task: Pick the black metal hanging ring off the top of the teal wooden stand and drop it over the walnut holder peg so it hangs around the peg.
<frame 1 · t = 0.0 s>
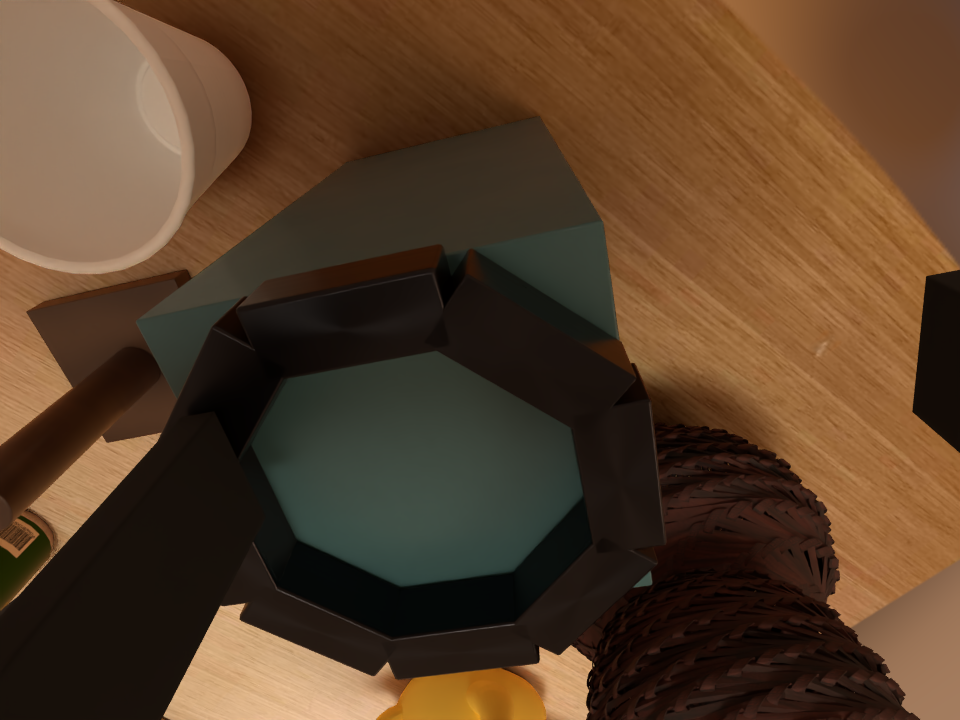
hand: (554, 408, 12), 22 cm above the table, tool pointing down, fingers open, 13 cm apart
ring: (420, 469, 14), point 20 cm above the table, touching gripper, stand
beer can: (21, 529, 43), on the table
vase: (648, 474, 39), on the table
cup: (193, 103, 30), on the table
teapot: (463, 687, 50), on the table
holder: (151, 355, 36), on the table
stand: (464, 236, 32), on the table
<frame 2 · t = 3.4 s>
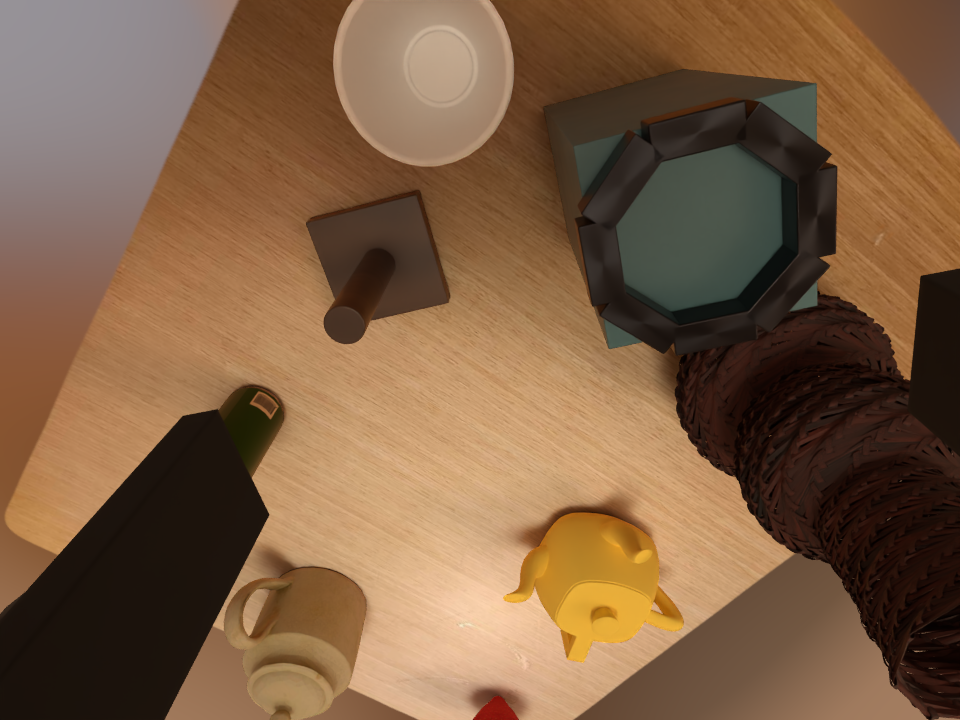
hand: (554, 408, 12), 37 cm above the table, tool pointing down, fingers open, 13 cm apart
ring: (696, 230, 27), point 20 cm above the table, touching stand
strawberry: (498, 696, 75), on the table
beer can: (258, 407, 56), on the table
lidded mug: (304, 592, 67), on the table
vase: (745, 346, 52), on the table
cup: (441, 67, 43), on the table
teapot: (586, 540, 63), on the table
holder: (382, 258, 49), on the table
stand: (622, 159, 45), on the table
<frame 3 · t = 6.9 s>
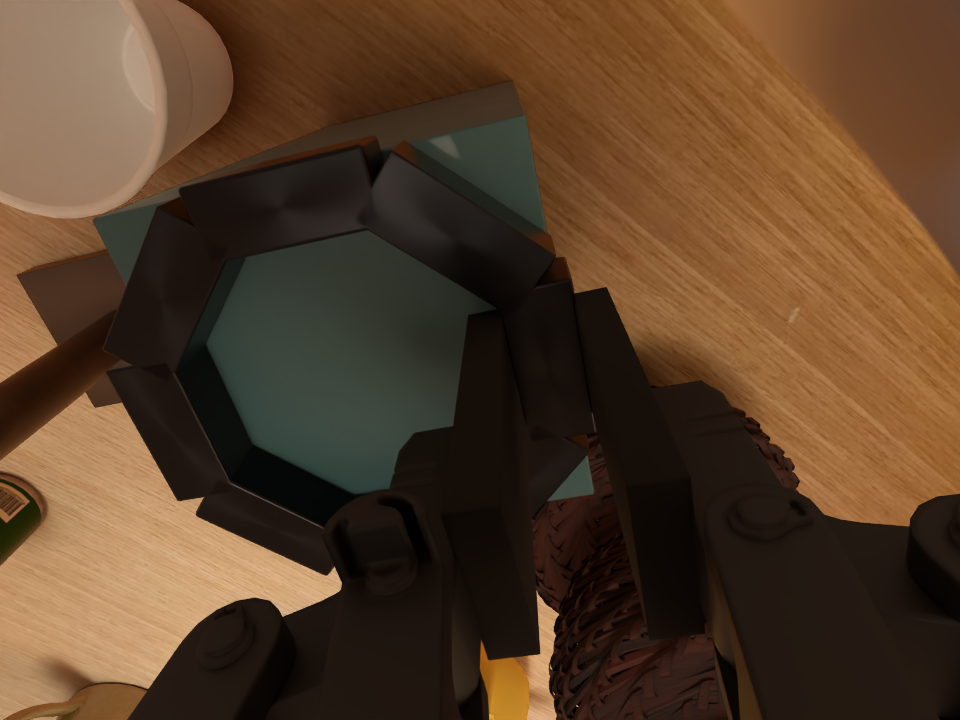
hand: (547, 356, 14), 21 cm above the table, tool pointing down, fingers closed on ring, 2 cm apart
ring: (367, 370, 15), point 20 cm above the table, touching gripper
beer can: (12, 498, 44), on the table
lidded mug: (111, 710, 55), on the table
vase: (626, 442, 40), on the table
cup: (177, 69, 31), on the table
teapot: (448, 662, 50), on the table
holder: (138, 320, 37), on the table
stand: (441, 200, 33), on the table
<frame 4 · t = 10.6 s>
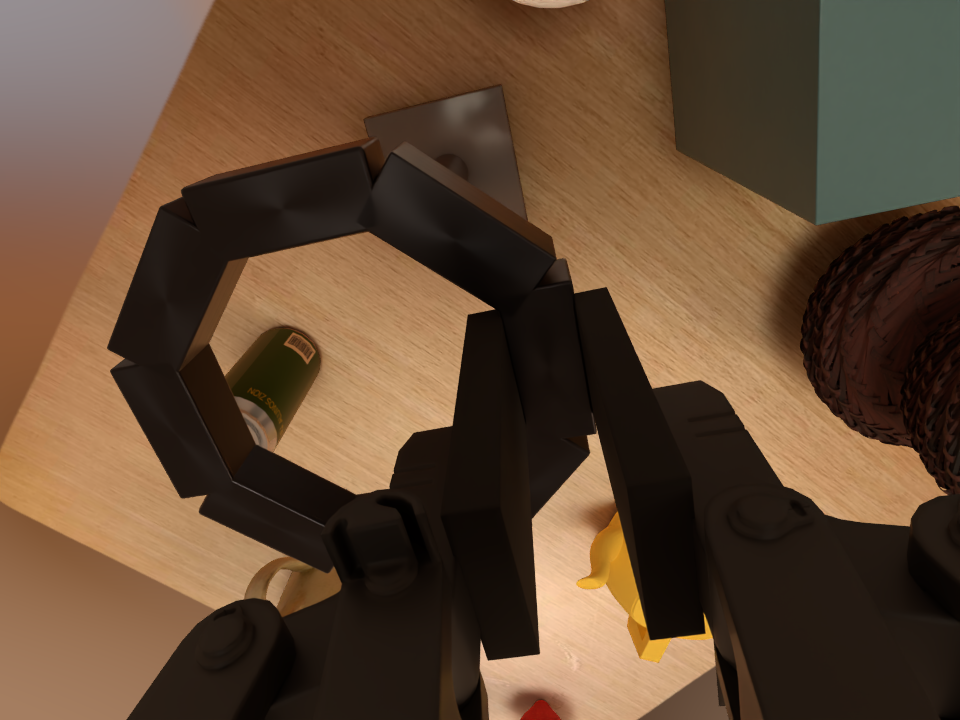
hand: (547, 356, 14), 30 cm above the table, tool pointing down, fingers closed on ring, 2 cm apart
ring: (368, 370, 15), point 29 cm above the table, touching gripper
strawberry: (541, 700, 66), on the table
beer can: (290, 354, 48), on the table
lidded mug: (329, 577, 59), on the table
vase: (870, 291, 44), on the table
teapot: (659, 522, 55), on the table
holder: (450, 170, 41), on the table
stand: (752, 48, 37), on the table
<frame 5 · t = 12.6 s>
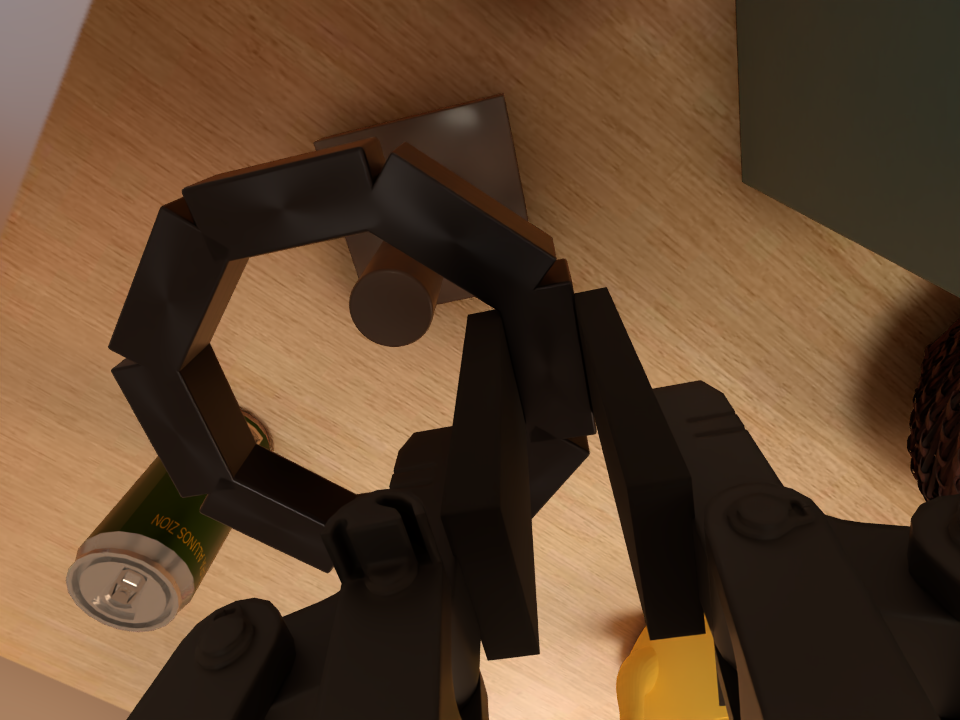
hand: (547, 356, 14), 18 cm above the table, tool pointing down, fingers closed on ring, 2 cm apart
ring: (369, 370, 15), point 17 cm above the table, touching gripper
beer can: (232, 437, 38), on the table
teapot: (699, 633, 44), on the table
holder: (435, 209, 31), on the table
stand: (854, 43, 27), on the table
when the fingers open (13 cm above the table, at t = 14.3 s): ring drops 10 cm, resting on holder.
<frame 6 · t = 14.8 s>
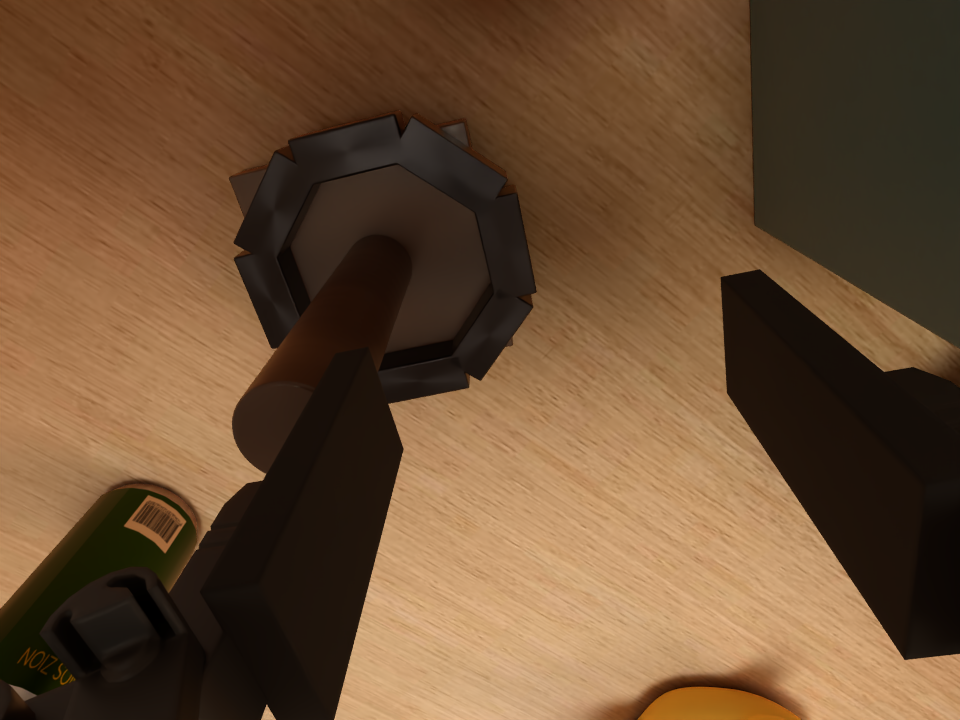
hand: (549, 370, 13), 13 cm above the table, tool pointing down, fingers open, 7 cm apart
ring: (392, 263, 24), point 1 cm above the table, touching holder
beer can: (153, 517, 32), on the table
holder: (385, 255, 25), on the table
stand: (893, 61, 22), on the table
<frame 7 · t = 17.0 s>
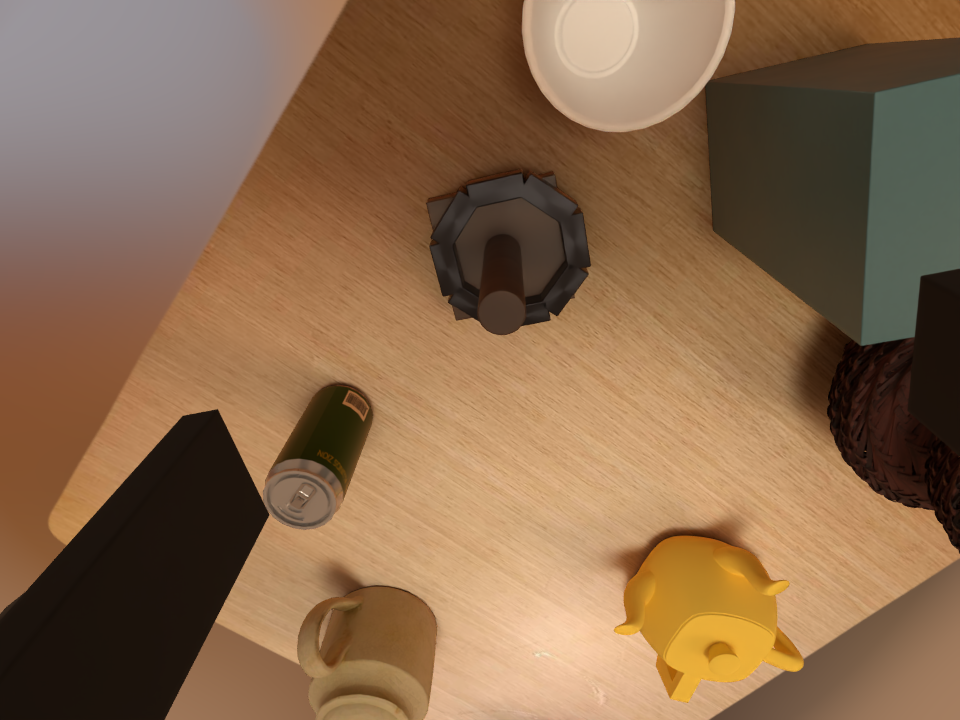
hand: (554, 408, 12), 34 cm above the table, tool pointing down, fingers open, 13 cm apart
ring: (510, 249, 43), point 1 cm above the table, touching holder
beer can: (343, 408, 51), on the table
lidded mug: (369, 614, 62), on the table
vase: (891, 357, 47), on the table
cup: (595, 32, 38), on the table
teapot: (687, 566, 57), on the table
holder: (502, 246, 44), on the table
stand: (785, 143, 41), on the table
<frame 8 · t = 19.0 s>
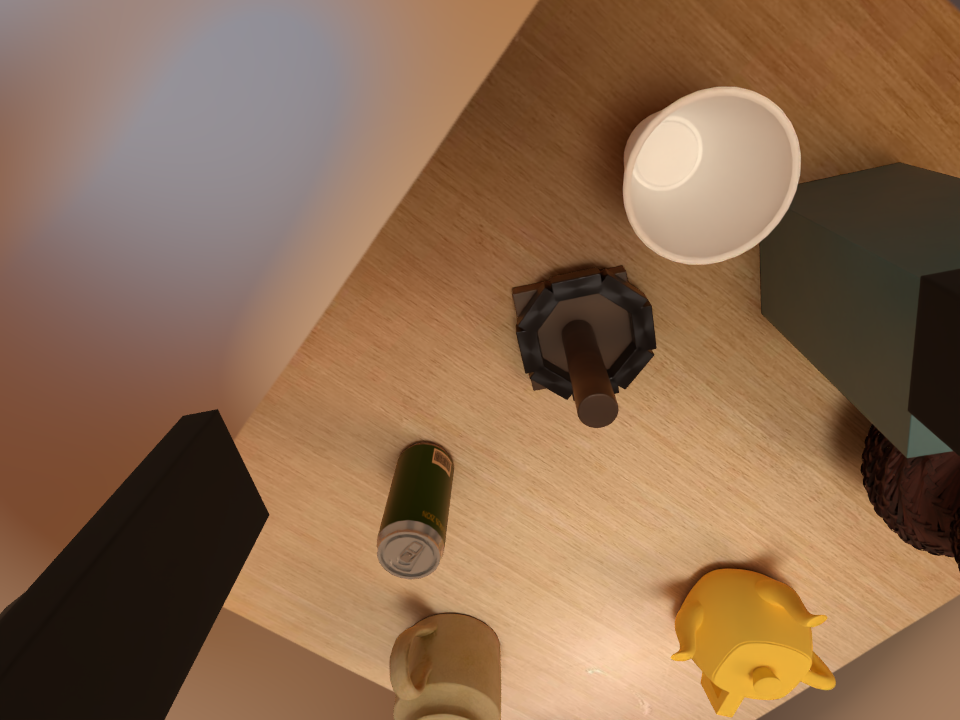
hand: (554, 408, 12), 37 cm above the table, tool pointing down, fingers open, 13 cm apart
ring: (584, 332, 49), point 1 cm above the table, touching holder
beer can: (426, 461, 58), on the table
lidded mug: (439, 637, 68), on the table
vase: (915, 417, 54), on the table
cup: (664, 153, 44), on the table
teapot: (728, 594, 64), on the table
holder: (575, 326, 51), on the table
stand: (826, 242, 47), on the table
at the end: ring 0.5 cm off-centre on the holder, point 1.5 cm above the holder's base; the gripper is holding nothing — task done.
